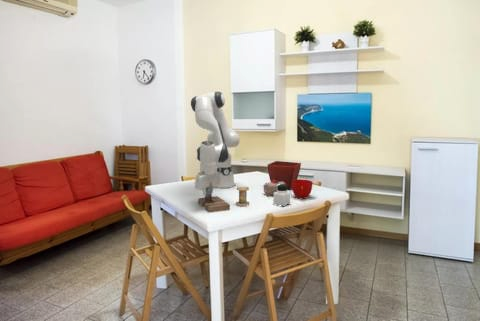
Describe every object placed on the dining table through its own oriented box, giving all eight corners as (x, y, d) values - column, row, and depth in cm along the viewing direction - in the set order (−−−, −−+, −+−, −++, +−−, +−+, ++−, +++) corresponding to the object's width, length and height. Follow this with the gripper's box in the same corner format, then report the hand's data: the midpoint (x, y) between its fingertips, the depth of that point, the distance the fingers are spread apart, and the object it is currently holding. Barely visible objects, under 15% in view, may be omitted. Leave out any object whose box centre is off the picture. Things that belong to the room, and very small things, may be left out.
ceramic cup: (290, 201, 222) (291, 184, 221) (291, 194, 239) (291, 179, 237) (312, 202, 220) (313, 185, 219) (311, 195, 237) (312, 179, 235)
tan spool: (233, 203, 217) (233, 186, 215) (246, 202, 220) (246, 185, 218) (239, 206, 209) (239, 189, 208) (251, 205, 213) (251, 188, 211)
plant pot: (300, 185, 263) (301, 162, 261) (293, 191, 246) (293, 166, 244) (275, 183, 271) (276, 160, 269) (266, 188, 254) (266, 164, 252)
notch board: (198, 203, 217) (198, 198, 217) (217, 200, 222) (217, 196, 222) (209, 212, 199) (209, 206, 199) (229, 209, 204) (229, 204, 204)
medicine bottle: (290, 204, 215) (290, 184, 213) (283, 206, 210) (283, 186, 208) (280, 202, 220) (280, 182, 218) (273, 204, 215) (273, 184, 213)
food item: (266, 197, 232) (266, 181, 230) (262, 194, 240) (262, 179, 238) (286, 195, 235) (287, 180, 233) (282, 193, 243) (282, 178, 241)
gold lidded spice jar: (204, 199, 210) (204, 181, 209) (211, 199, 211) (211, 180, 209) (205, 201, 206) (204, 182, 205) (212, 201, 207) (212, 182, 205)
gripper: (201, 173, 196) (201, 199, 198) (222, 168, 213) (222, 191, 215) (192, 172, 199) (192, 197, 201) (213, 167, 216) (213, 189, 218)
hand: (208, 194), depth 208 cm, fingers closed on gold lidded spice jar, 4 cm apart
